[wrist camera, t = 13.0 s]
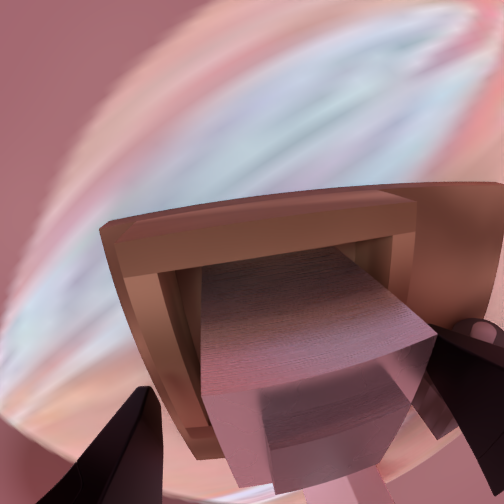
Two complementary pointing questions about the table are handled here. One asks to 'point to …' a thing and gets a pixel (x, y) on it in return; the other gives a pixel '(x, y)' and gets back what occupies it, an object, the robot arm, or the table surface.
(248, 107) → the table surface
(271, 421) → the block
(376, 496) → the milk
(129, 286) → the frame
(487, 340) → the wheel
